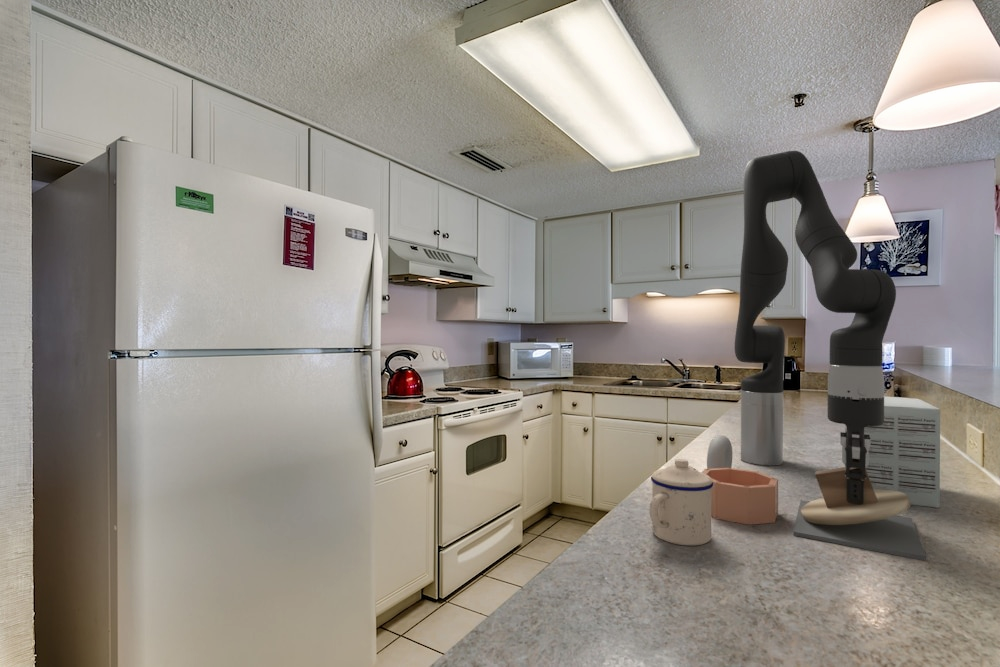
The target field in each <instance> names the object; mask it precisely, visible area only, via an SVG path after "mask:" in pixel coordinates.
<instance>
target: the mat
mask: <svg viewBox="0 0 1000 667" xmlns="http://www.w3.org/2000/svg"><path fill="white" fill-rule="evenodd" d="M809 502H810V501H806V500H803V499H802V500H801V499H800V502H799V506H798V511H797V513H796V518H795V519H796V520H795V523H794V527H793V532H792V533H793V534H792V535H793V536H794V537H795V536H796V537H801V538H806V539H812V540H816V541H821V542H827V543H831V544H837V545H843V546H847V547H848V546H849V547H853V548H859V549H863V550H868V551H873V552H880V553H884V554H885V553H886V554H891V555H895V556H899V557H900V556H901V557H905V558H911V559H916V560H921V561H927V554H926V552H925V549H924V547H923V543H922V542H921V539H920V536H919V534H918V531H917V528H916V526H915V524H914V521H913V519H912V517H909V516H903V515H895V516H892V517H889V518H885V519H881V520H877V521H872V522H866V523H858V524H847V525H824V524H816V523H812V522H808V521H806V520H805V519H804V518H803V516H802V513H801V508H802V507H803V506H804V505H806V504H807V503H809Z"/></svg>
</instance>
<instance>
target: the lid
mask: <svg viewBox="0 0 1000 667" xmlns="http://www.w3.org/2000/svg"><path fill="white" fill-rule="evenodd" d="M850 470H854V471H861V468H855V467H850ZM845 472H846V467H845V466H843V467H836V468H831V469H824V470H823V469H821V470H816V471H815V472H814V473H815V474H814V476H815V478H816V482H817V483H818V487H819V489H820V492H821V494H822V497H820V498H817V499H815V500H814V499H813V500H811V501H809V503H807V504H806V505H804V506H803V507H802V508H801V513H802V516H803V518H804V519H805V520H806V521H808V522H812V523H816V524H824V525H847V524H858V523H866V522H872V521H877V520H881V519H885V518H889V517H892V516H895V515H897V516H899V515H900V514H903V513H904V512H906V511H907V510H909V509H910V507H911V503H910V500H909V498H908V496H907V495H906V494H904V493H902V492H898V491H891V490H874V489H873V487H872V484H871V481H870V479H869V476H868V474H867V471H866V468H865V475H866V479H865V481H864V502H863V504H862V505H858V504H852V503H848V502H847V479H846V477H845Z"/></svg>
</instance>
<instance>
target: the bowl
mask: <svg viewBox="0 0 1000 667" xmlns="http://www.w3.org/2000/svg"><path fill="white" fill-rule="evenodd" d="M700 472H701V473H704V474H706V475H708V476H709V477H710V478H711V479H712V482H713V486H712V487H711V518H714V519H718V520H721V521H728V522H733V523H737V524H743V525H748V526H749V525H759V524H772V523H775V524H776V520H777V516H778V514H779V479H778V478H775V477H773V476H770V475H768V474H766V473H763V472H760V471H756V470H749V469H741V468H736V467H735V468H734V467H731V468H713V469H707V468H704V469H703V470H702V471H700Z"/></svg>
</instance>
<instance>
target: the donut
mask: <svg viewBox="0 0 1000 667" xmlns="http://www.w3.org/2000/svg"><path fill="white" fill-rule="evenodd" d="M732 466H733V446H732V442H731V440H730V438H729V437H728V436H726V435H723V434H718V435H714V437H713V438H712V439H711V440H710V442H709V446H708V448H707V455H706V469H713V468H733V467H732Z"/></svg>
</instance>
